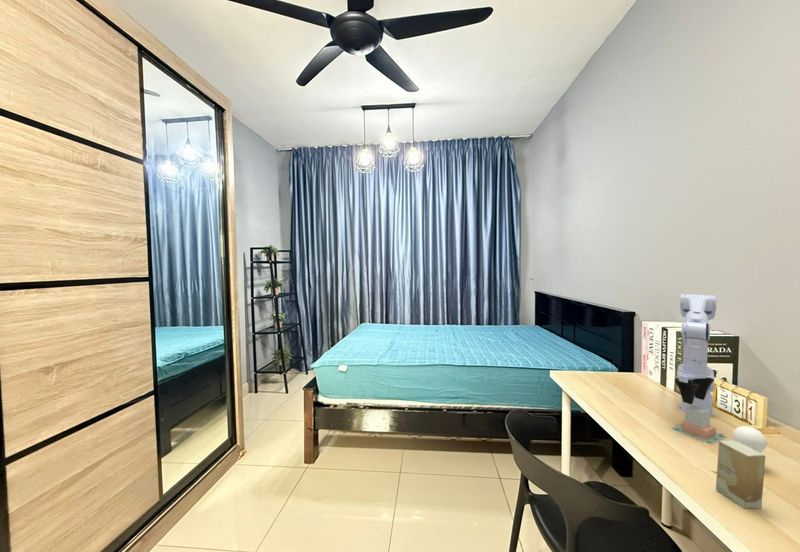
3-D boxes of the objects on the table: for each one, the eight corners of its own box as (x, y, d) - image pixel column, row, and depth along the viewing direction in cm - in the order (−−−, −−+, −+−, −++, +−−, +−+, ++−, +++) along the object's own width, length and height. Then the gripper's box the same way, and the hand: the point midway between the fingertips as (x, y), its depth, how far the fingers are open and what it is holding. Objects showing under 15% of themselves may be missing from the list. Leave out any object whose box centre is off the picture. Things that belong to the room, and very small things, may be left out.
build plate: (687, 424, 106) (687, 420, 106) (727, 439, 97) (727, 435, 97) (671, 431, 102) (671, 427, 102) (711, 447, 93) (711, 442, 93)
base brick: (691, 426, 104) (691, 418, 104) (715, 435, 98) (715, 427, 98) (681, 430, 101) (682, 422, 101) (706, 439, 96) (706, 431, 96)
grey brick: (692, 419, 103) (692, 404, 103) (709, 426, 99) (710, 410, 99) (684, 422, 101) (685, 407, 101) (702, 428, 97) (702, 413, 97)
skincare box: (714, 489, 75) (716, 439, 75) (731, 488, 76) (732, 438, 75) (746, 510, 69) (748, 455, 68) (764, 509, 69) (766, 454, 69)
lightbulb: (773, 477, 80) (775, 434, 79) (744, 474, 81) (746, 432, 81) (752, 462, 86) (753, 423, 85) (725, 459, 87) (726, 420, 87)
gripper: (690, 353, 107) (689, 392, 108) (667, 358, 101) (666, 400, 102) (718, 358, 101) (717, 400, 101) (695, 364, 95) (694, 409, 95)
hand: (693, 400), depth 101 cm, fingers open, 7 cm apart
